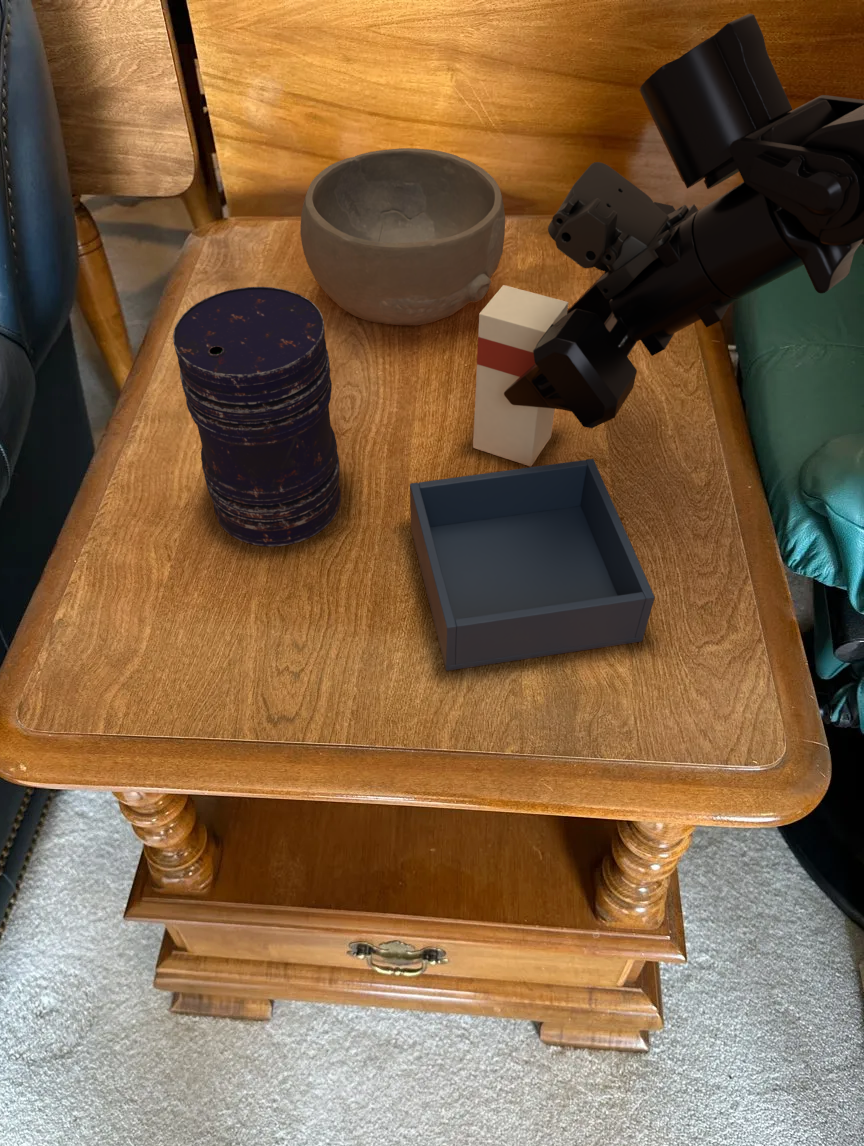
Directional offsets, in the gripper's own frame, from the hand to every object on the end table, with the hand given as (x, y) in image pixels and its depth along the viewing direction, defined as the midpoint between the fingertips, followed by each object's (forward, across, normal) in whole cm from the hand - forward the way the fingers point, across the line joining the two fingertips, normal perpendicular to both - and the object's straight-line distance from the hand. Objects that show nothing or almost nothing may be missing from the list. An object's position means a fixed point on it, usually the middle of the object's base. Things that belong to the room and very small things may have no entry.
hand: (534, 362), depth 69 cm
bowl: (+19, -14, -8) cm, 25 cm away
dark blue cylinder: (+16, +14, -4) cm, 22 cm away
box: (+2, +13, +9) cm, 16 cm away
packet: (+6, 0, +5) cm, 8 cm away
